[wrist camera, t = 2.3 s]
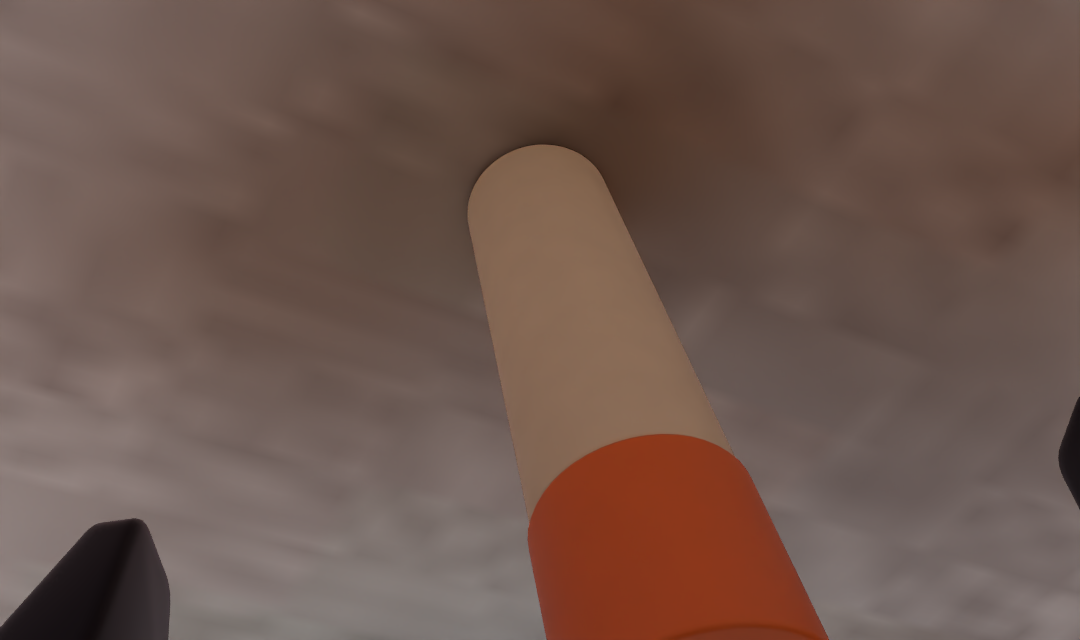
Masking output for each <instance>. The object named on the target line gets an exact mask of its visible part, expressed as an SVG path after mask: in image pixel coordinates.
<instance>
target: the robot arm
mask: <svg viewBox="0 0 1080 640" xmlns="http://www.w3.org/2000/svg"><path fill="white" fill-rule="evenodd" d="M1058 459H1059V466H1060V470H1061V473H1062V475H1063V478H1064V480H1065V482H1066V484H1067V486H1068V487H1069V489H1070V491H1071V493H1072V495H1073V497H1074V499H1075V501H1076V503H1077V505H1078V507H1079V509H1080V397H1079V398H1078V400H1077V402H1076V405H1075V407H1074V410H1073V413H1072V415H1071V418H1070V421H1069V424H1068V426H1067V429H1066V432H1065V435H1064V437H1063V440H1062V443H1061V446H1060V449H1059V457H1058ZM169 617H170V590H169V584H168V579H167V576H166V573H165V571H164V568H163V565H162V563H161V560H160V557H159V555H158V552H157V550H156V547H155V544H154V542H153V539H152V536H151V534H150V531H149V529H148V527H147V525H146V524H145V523H144V522H143V521H142V520H140V519H136V518H132V519H125V520H118V521H110V522H103V523H98V524H96V525H94V526H92V527H91V528H90V529H88V530H87V531H86V532H85V534H84V535H83V536H82V537H81V538H80V539H79V540H78V541H77V542H76V544H75V545H74V546H73V547H72V548H71V549H70V550H69V551H68V552H67V554H66V555H65V556H64V557H63V558H62V559H61V560H60V561H59V562H58V564H57V565H56V566H55V567H54V568H53V569H52V570H51V571H50V573H49V574H48V575H47V576H46V577H45V578H44V579H43V580H42V581H41V583H40V584H39V585H38V586H37V587H36V588H35V589H34V590H33V591H32V593H31V594H30V595H29V596H28V597H27V598H26V599H25V600H24V601H23V603H22V604H21V605H20V606H19V607H18V608H17V609H16V610H15V611H14V613H13V614H12V615H11V616H10V617H9V618H8V619H7V620H6V622H5V623H4V624H3V625H2V626H1V627H0V640H168V634H169Z"/></svg>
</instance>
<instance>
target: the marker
mask: <svg viewBox="0 0 1080 640" xmlns="http://www.w3.org/2000/svg"><path fill="white" fill-rule="evenodd" d="M468 224H469V229H470V234H471V239H472V244H473V249H474V254H475V259H476V264H477V269H478V274H479V279H480V283H481V288H482V293H483V298H484V303H485V308H486V313H487V318H488V323H489V328H490V333H491V337H492V342H493V347H494V352H495V357H496V362H497V367H498V372H499V377H500V382H501V387H502V391H503V396H504V401H505V406H506V411H507V416H508V421H509V426H510V431H511V436H512V441H513V446H514V450H515V455H516V460H517V465H518V470H519V475H520V480H521V485H522V490H523V495H524V500H525V504H526V509H527V514H528V519H529V528H528V546H529V552H530V557H531V562H532V567H533V572H534V578H535V583H536V588H537V593H538V598H539V603H540V608H541V613H542V618H543V623H544V628H545V633H546V638H547V640H829V639H828V636H827V634H826V632H825V630H824V628H823V626H822V624H821V622H820V620H819V618H818V616H817V614H816V612H815V609H814V607H813V605H812V603H811V601H810V599H809V597H808V595H807V593H806V591H805V589H804V587H803V585H802V582H801V580H800V578H799V576H798V574H797V572H796V570H795V568H794V566H793V564H792V562H791V560H790V558H789V555H788V553H787V551H786V549H785V547H784V545H783V543H782V541H781V539H780V537H779V535H778V533H777V531H776V528H775V526H774V524H773V522H772V520H771V518H770V516H769V514H768V512H767V510H766V508H765V506H764V504H763V501H762V499H761V497H760V495H759V493H758V491H757V489H756V487H755V485H754V483H753V481H752V479H751V477H750V475H749V473H748V471H747V470H746V468H745V467H744V466H743V465H742V463H741V462H740V461H739V460H738V459H737V458H735V456H734V454H733V452H732V450H731V447H730V445H729V443H728V441H727V439H726V437H725V435H724V433H723V431H722V429H721V426H720V424H719V422H718V420H717V418H716V416H715V414H714V412H713V410H712V407H711V405H710V403H709V401H708V399H707V397H706V395H705V393H704V391H703V388H702V386H701V384H700V382H699V380H698V378H697V376H696V374H695V372H694V369H693V367H692V365H691V363H690V361H689V359H688V357H687V355H686V353H685V350H684V348H683V346H682V344H681V342H680V340H679V338H678V336H677V334H676V331H675V329H674V327H673V325H672V323H671V321H670V319H669V317H668V315H667V312H666V310H665V308H664V306H663V304H662V302H661V300H660V298H659V296H658V293H657V291H656V289H655V287H654V285H653V283H652V281H651V279H650V277H649V274H648V272H647V270H646V268H645V266H644V264H643V262H642V260H641V258H640V255H639V253H638V251H637V249H636V247H635V245H634V243H633V241H632V239H631V236H630V234H629V232H628V230H627V228H626V226H625V224H624V222H623V220H622V217H621V215H620V213H619V211H618V209H617V207H616V205H615V203H614V201H613V198H612V196H611V194H610V192H609V190H608V188H607V186H606V184H605V182H604V180H603V178H602V176H601V174H600V172H599V171H598V170H597V168H596V167H595V166H594V165H593V164H592V163H591V162H590V161H589V160H588V159H586V158H585V157H584V156H582V155H581V154H579V153H577V152H575V151H573V150H570V149H567V148H565V147H560V146H556V145H532V146H526V147H522V148H519V149H516V150H514V151H511V152H509V153H507V154H505V155H503V156H502V157H500V158H499V159H497V160H496V161H495V162H493V163H492V164H491V165H490V166H489V167H488V168H487V169H486V170H485V171H484V172H483V174H482V175H481V176H480V177H479V179H478V180H477V182H476V184H475V186H474V188H473V190H472V192H471V195H470V199H469V203H468Z"/></svg>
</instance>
